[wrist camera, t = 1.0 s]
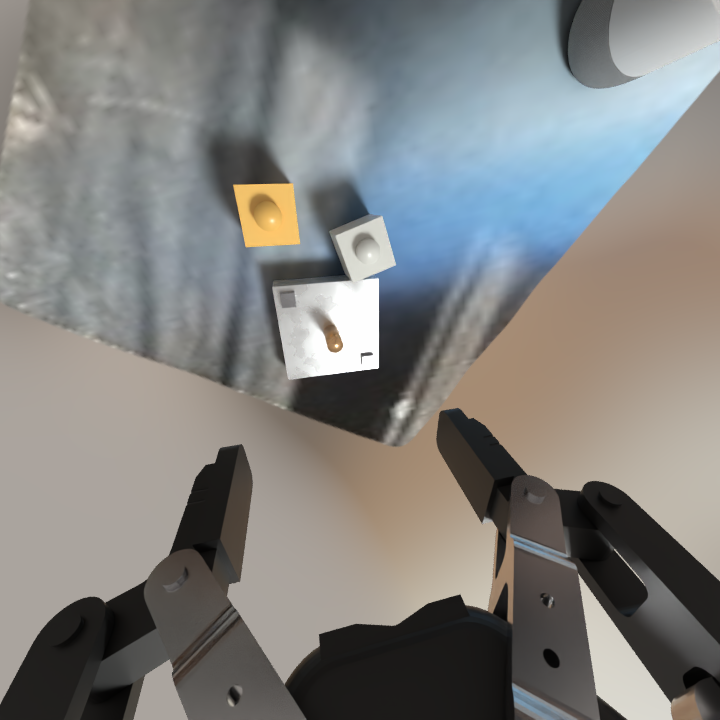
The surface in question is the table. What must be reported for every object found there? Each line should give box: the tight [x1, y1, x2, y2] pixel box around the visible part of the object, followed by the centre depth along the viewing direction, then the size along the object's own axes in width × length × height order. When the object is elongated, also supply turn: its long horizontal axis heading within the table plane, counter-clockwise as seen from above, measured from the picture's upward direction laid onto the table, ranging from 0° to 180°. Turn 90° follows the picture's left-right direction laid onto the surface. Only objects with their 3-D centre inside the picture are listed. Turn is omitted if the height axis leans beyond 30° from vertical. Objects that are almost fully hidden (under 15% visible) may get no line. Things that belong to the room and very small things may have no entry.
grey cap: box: [329, 214, 396, 283], centre depth 32 cm, size 5×5×6 cm
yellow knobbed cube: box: [233, 183, 300, 247], centre depth 29 cm, size 5×5×6 cm
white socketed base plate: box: [272, 275, 378, 380], centre depth 35 cm, size 12×12×7 cm
